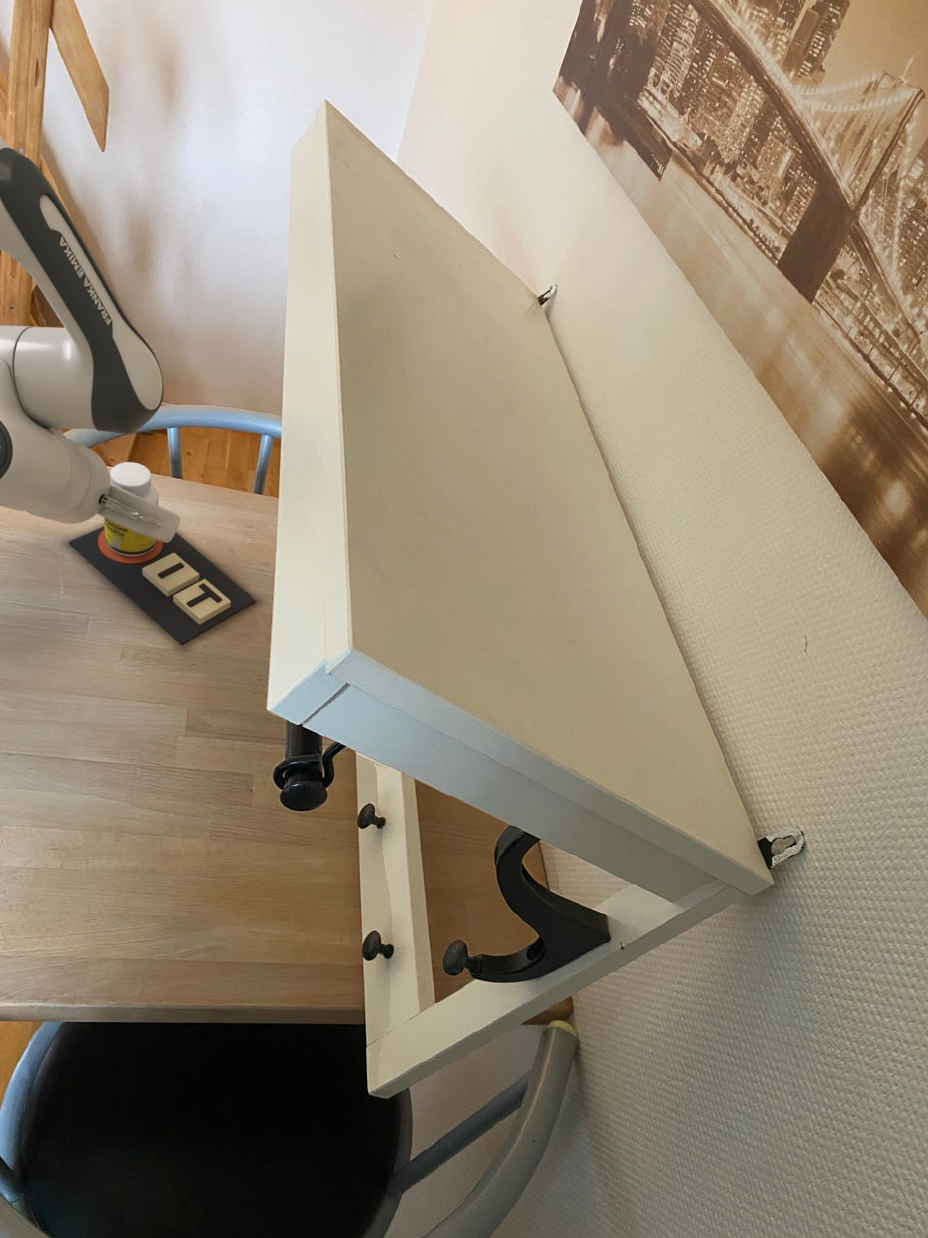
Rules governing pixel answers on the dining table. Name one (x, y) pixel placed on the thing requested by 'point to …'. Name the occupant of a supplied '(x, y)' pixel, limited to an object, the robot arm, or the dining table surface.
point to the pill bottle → (139, 484)
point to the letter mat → (169, 584)
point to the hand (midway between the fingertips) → (121, 503)
